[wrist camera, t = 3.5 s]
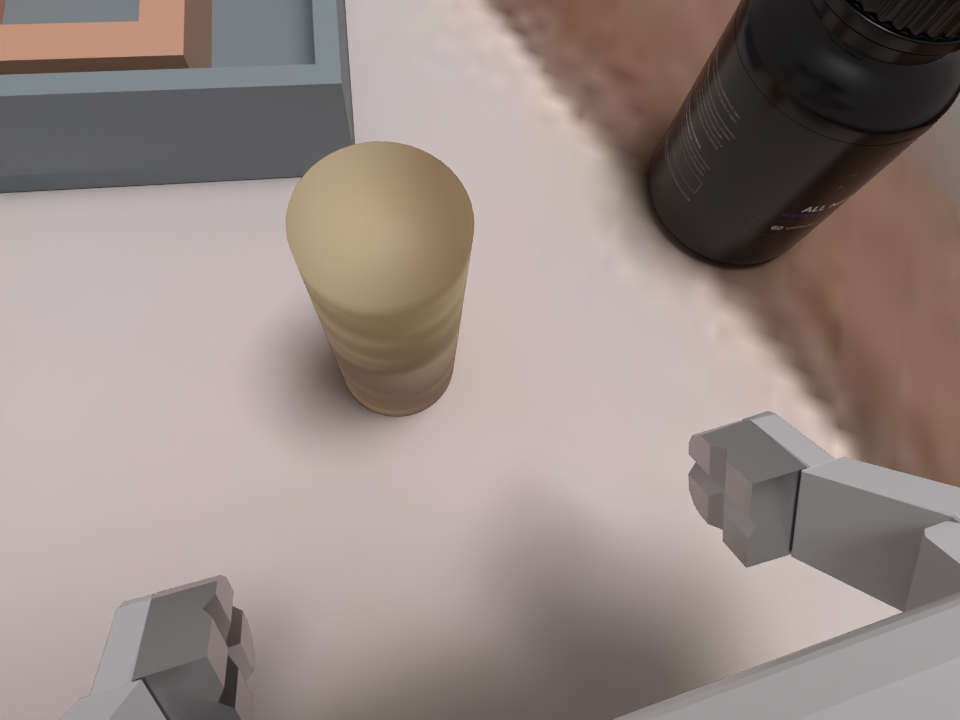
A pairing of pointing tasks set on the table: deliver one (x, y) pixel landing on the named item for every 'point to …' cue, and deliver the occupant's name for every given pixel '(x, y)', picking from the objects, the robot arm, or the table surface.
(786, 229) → the supplement bottle
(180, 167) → the open-top box
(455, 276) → the beech peg
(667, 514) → the table surface
